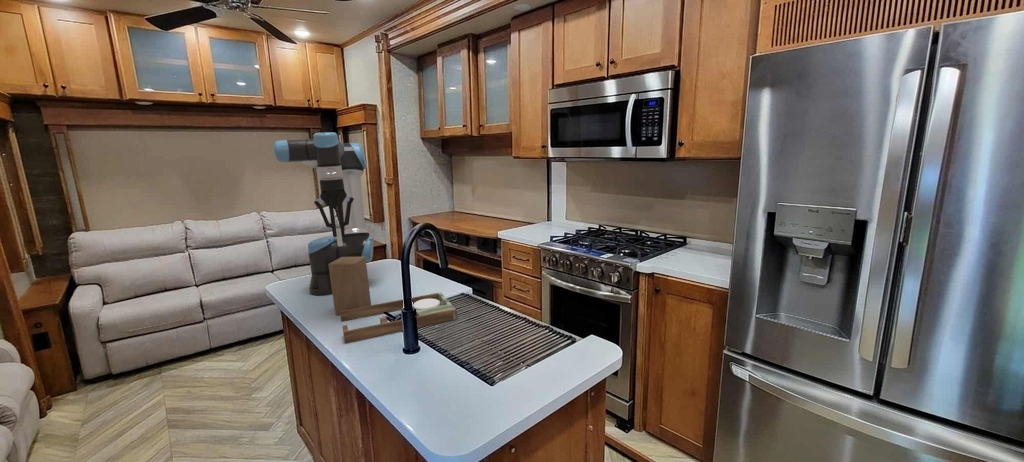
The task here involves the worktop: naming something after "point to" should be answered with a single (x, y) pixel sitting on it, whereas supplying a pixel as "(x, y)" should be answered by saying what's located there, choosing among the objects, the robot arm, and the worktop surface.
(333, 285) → the wooden block
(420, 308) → the coaster
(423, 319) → the open wooden box
